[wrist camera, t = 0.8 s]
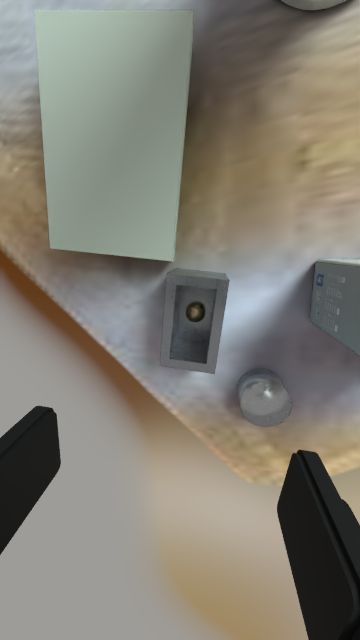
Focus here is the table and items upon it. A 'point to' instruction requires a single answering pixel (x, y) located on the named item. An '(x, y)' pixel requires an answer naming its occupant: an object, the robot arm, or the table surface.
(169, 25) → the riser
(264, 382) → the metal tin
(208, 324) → the housing
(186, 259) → the table surface
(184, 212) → the table surface
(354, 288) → the hard drive box
